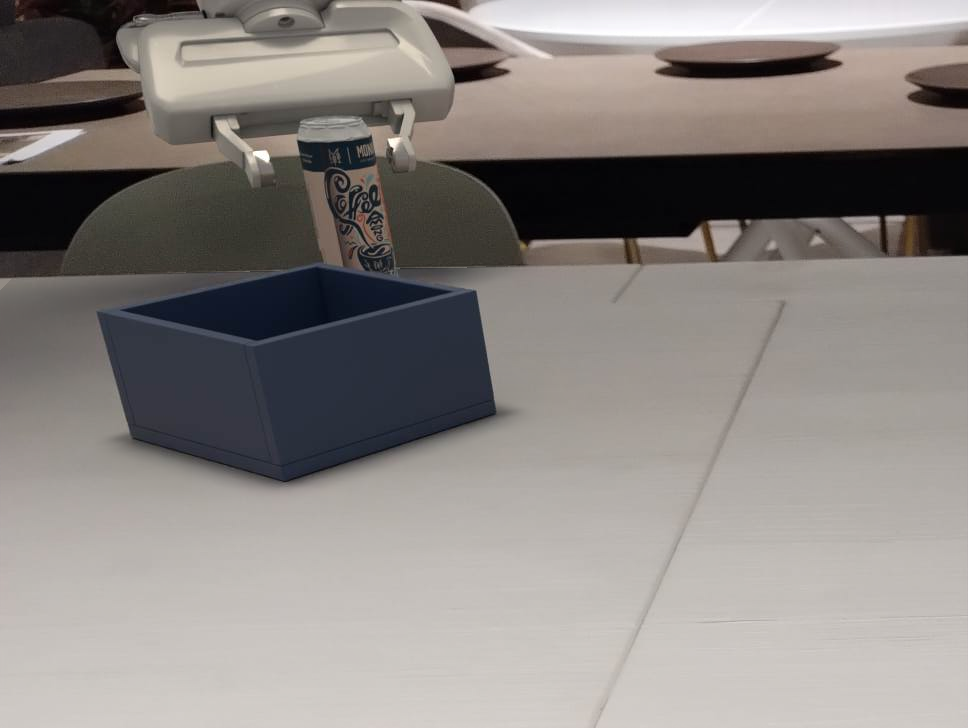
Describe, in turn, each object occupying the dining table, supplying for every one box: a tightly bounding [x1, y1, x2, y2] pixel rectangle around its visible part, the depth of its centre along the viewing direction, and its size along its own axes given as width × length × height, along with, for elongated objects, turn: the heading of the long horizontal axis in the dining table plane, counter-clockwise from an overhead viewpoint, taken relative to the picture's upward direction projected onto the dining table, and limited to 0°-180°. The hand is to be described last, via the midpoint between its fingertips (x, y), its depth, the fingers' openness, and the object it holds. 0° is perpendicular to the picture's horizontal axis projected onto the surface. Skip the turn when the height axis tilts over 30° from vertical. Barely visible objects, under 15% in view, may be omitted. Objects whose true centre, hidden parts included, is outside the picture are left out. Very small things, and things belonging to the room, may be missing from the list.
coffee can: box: [295, 116, 399, 277], centre depth 115 cm, size 5×5×12 cm
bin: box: [96, 262, 497, 482], centre depth 91 cm, size 14×14×7 cm
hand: (336, 174), depth 115 cm, fingers open, 8 cm apart
